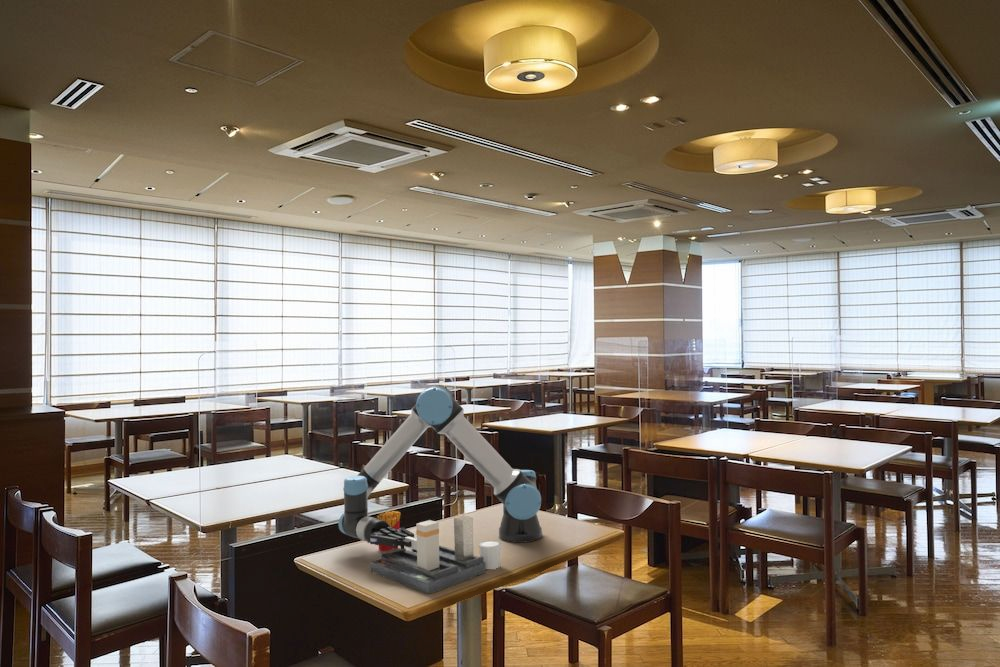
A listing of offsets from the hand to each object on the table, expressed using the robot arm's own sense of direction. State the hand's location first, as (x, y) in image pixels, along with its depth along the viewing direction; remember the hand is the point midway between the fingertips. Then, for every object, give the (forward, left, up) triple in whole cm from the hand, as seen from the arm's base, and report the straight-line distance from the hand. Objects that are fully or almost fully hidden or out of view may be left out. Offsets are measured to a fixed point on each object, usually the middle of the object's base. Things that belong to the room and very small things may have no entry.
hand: (420, 545), depth 193 cm
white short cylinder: (-20, +9, -10) cm, 24 cm away
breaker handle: (-1, +2, -6) cm, 7 cm away
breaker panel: (-4, -2, -9) cm, 11 cm away
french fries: (-11, -30, -10) cm, 34 cm away
